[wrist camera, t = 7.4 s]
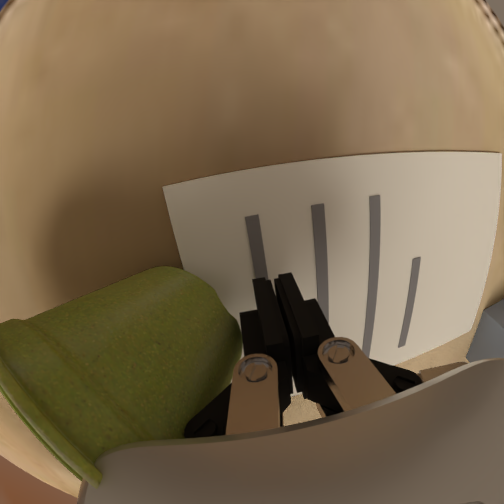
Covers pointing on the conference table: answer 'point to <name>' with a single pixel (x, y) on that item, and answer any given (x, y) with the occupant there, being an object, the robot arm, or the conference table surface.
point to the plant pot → (119, 365)
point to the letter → (351, 241)
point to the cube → (489, 335)
